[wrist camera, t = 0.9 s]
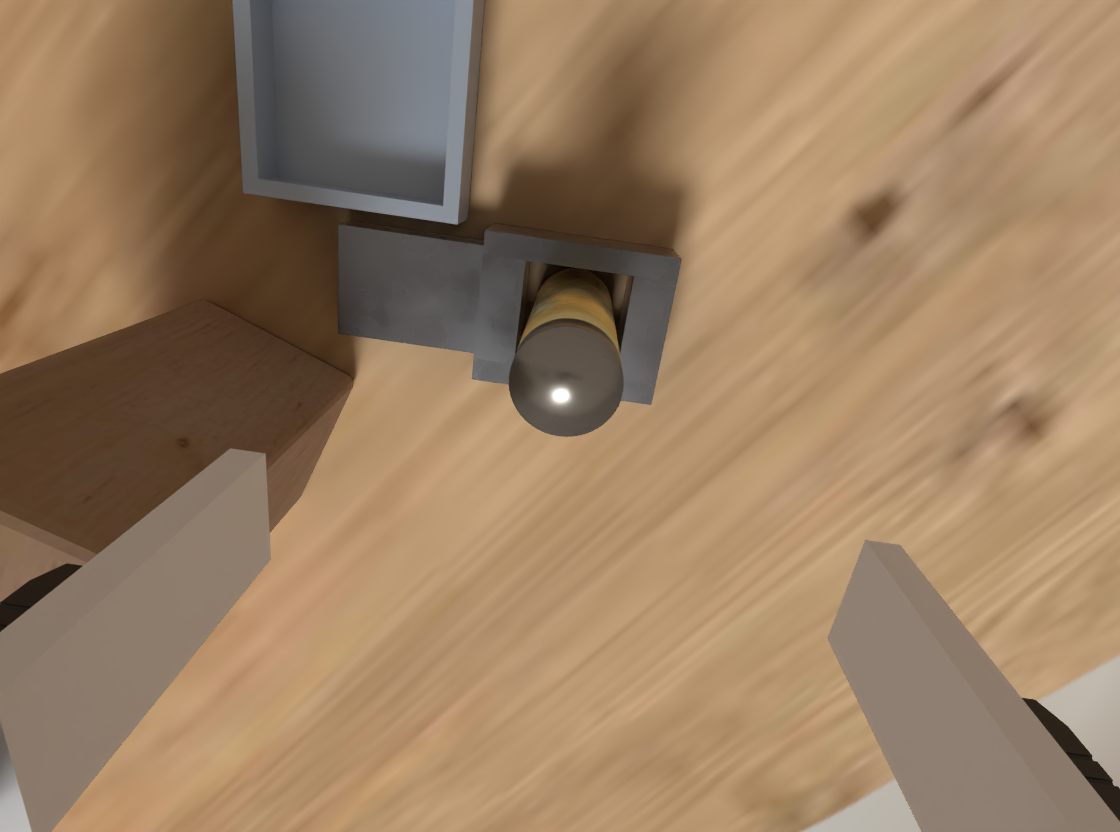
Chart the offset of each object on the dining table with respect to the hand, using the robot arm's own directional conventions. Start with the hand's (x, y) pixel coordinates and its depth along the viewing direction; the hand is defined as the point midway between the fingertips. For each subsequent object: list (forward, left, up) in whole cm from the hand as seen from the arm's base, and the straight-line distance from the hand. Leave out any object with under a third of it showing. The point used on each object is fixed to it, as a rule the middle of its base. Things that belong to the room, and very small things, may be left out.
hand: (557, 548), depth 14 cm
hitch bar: (-4, 0, -24) cm, 25 cm away
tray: (-12, +9, -24) cm, 29 cm away
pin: (0, 0, -24) cm, 24 cm away
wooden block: (-19, -9, -25) cm, 32 cm away
